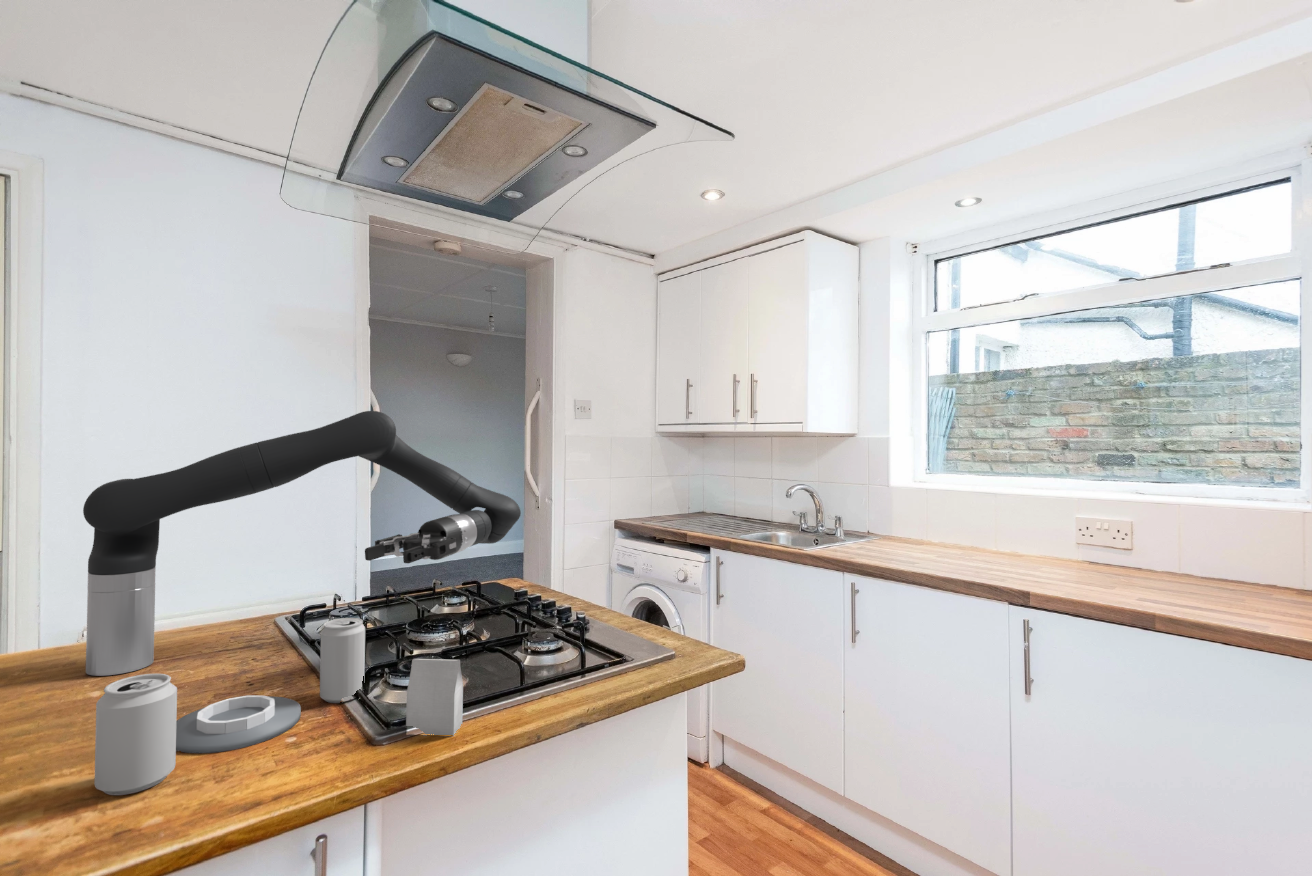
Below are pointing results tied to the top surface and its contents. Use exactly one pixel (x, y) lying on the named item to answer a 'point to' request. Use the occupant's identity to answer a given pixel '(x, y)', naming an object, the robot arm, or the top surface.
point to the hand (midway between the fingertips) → (385, 556)
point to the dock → (235, 723)
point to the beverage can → (341, 658)
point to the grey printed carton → (435, 696)
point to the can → (135, 734)
